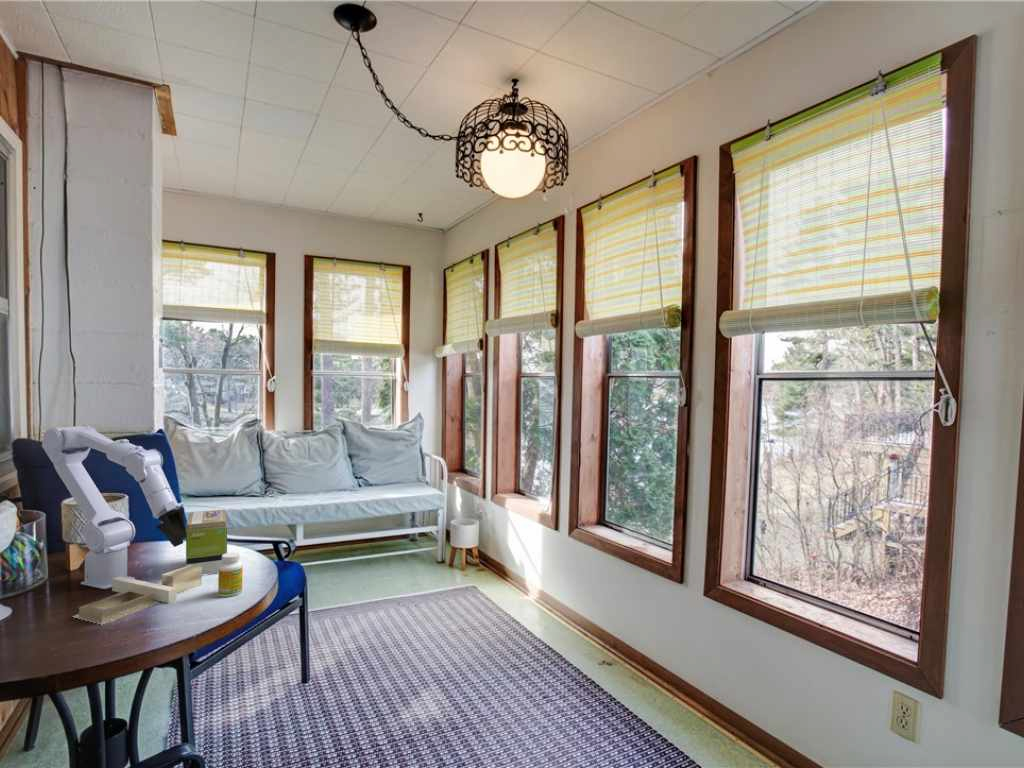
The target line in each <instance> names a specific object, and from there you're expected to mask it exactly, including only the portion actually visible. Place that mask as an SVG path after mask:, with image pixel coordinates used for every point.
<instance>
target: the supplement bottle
mask: <svg viewBox="0 0 1024 768" xmlns="http://www.w3.org/2000/svg"><path fill="white" fill-rule="evenodd" d="M222 562H223V563H222V564H220V566H219V573H218V578H217V579H218V581H217V582H218V583H217V585H218V588H217V589H218V590H217V592H218V593H217V594H218V596H219V597H224V598H230V597H235V596H238V595H240V594H241V593H242V592H243V569H244V568H243V567H244V566H243V563H242V562H241V561H240V553H239V552H227V553H226V554H223V555H222Z"/></svg>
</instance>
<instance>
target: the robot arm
mask: <svg viewBox="0 0 1024 768" xmlns="http://www.w3.org/2000/svg"><path fill="white" fill-rule="evenodd" d="M41 443H42V444H41V447H42V449H43V450H44V452H45V454H46V455H47V457H48V458H49V460H50V461H51V463H52V464H53V467H54V469H55V472H56V473H57V474H58V476H59V478H60V479H61V481H62V482H63V483H64V485H65V487H66V489H67V490H68V491H69V493H70V496H71V497H72V499H73V500H74V501H75V503H76V505H77V506H78V508H79V509H80V511H81V513H82V514H83V516H84V517H85V519H86V520H87V521H86V523H85V524H84V526H83V527H82V529H81V533H82V534H83V536H84V542H85V545H86V547H87V549H89V551H88V552H87V554H86V555H85V557H84V581H81V582H80V585H83V586H87V587H88V586H89V587H92V588H95V589H96V588H97V589H101V590H107V589H110V588H111V589H112V579H114V578H117V577H120V576H121V577H126V578H130V579H135V580H136V577H134V576H130V575H129V576H128V547H129V546H131V542H132V541H133V540H134V538H135V536H136V528H135V525H134V523H133V521H131V519H128V518H127V517H126V516H125V515H124V513H122V512H120V511H116V510H113V509H111V507H110V506H109V504H108V503H107V501H106V499H105V498H104V496H103V495H102V494H101V492H100V490H99V489H98V487H97V486H96V484H95V482H94V481H93V479H92V478H91V476H90V474H89V473H88V471H87V470H86V468H85V466H84V465H83V461H84V460H85V459H86V458H87V457H88V455H89V453H90V451H91V449H93V450H96V451H99V452H102V453H104V454H105V456H106V459H108V460H109V461H111V462H113V463H116V464H118V465H120V466H122V467H125V470H126V472H127V473H128V474H129V475H131V476H132V477H133V479H134V480H135V481H136V483H137V482H138V483H139V486H140V488H141V490H142V492H143V496H144V497H145V499H146V502H147V504H148V506H149V508H150V510H151V513H152V517H153V518H154V519H157V520H158V521H160V523H159V524H158V525H156V526H155V529H157V530H158V531H159V532H160V533H162V534H163V535H164V536H165V537H166V538H167V540H168V541H169V542H170V544H171V545H172V547H174V548H175V547H179V546H180V545H182V544H184V540H185V539H186V538H187V533H186V524H185V508H184V507H183V506H184V505H185V503H184V501H183V502H179V503H178V501H177V499H176V496H175V494H174V492H173V489H171V486H170V484H169V482H168V479H167V477H166V474H165V473H164V470H163V468H162V467H163V464H164V458H163V457H164V456H163V455H162V453H161V452H160V451H159V450H157V449H156V448H151V449H148V450H147V449H145V448H143V446H141V445H135V444H133V443H130V440H129V439H127V438H124V439H123V438H121V439H117V440H115V441H114V440H113V439H111V438H109V437H107V436H105V435H103V434H101V433H100V432H97V430H96V429H95V427H91V426H89V425H87V424H83V425H77V426H76V425H75V426H65V427H63V426H62V427H49V428H47V430H45V431H44V434H43V436H42V442H41Z"/></svg>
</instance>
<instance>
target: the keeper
mask: <svg viewBox="0 0 1024 768" xmlns="http://www.w3.org/2000/svg"><path fill="white" fill-rule="evenodd" d="M158 603H159V604H160V601H156V600H153V594H149V593H145V592H140V591H135V590H128V591H125V592H122V593H120V592H118V593H117V594H113V595H110V596H108V597H105V598H102V599H99V600H96V601H93V602H89V603H87V604H84V605H81V606H79V608H78V609H79V610H78V613H77V614H75V615H73V616H71V617H74V618H73V619H75V618H78V619H77V620H79V619H81V620H80V621H83V620H85V621H84V622H87V621H89V622H88V623H91V622H93V623H92V624H95V623H97V624H96V625H99V624H100V626H104V625H103V624H105V625H106V623H107V624H109V622H110V623H112V622H114V621H117V619H118V620H119V619H122V617H123V618H125V617H128V616H131V615H133V614H135V612H136V613H138V612H140V611H143V610H147V609H149V608H151V607H153V606H156V605H159V604H158ZM148 607H149V608H148ZM127 615H128V616H127Z"/></svg>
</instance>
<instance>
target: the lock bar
mask: <svg viewBox="0 0 1024 768" xmlns="http://www.w3.org/2000/svg"><path fill="white" fill-rule="evenodd" d="M202 578H203V575H202V567H200V566H194V565H189V566H186V565H185V566H184V567H181V568H177V569H175V570H172V571H168V572H165V573H162V574H161V585H164V586H169V587H174V588H177V592H176V594H178V595H180V594H179V593H181V592H184V591H186V592H188V591H187V590H189V589H192V588H194V589H196V588H195V587H197V588H199V587H201V586H200V585H202V583H203V582H202V580H203V579H202ZM198 586H199V587H198ZM192 590H193V589H192ZM189 591H190V590H189ZM184 593H185V592H184ZM181 594H182V593H181Z"/></svg>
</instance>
